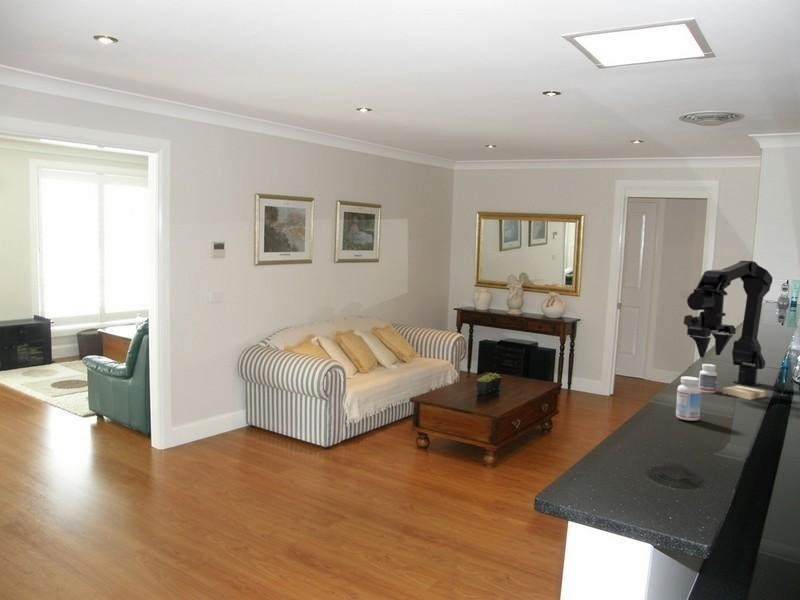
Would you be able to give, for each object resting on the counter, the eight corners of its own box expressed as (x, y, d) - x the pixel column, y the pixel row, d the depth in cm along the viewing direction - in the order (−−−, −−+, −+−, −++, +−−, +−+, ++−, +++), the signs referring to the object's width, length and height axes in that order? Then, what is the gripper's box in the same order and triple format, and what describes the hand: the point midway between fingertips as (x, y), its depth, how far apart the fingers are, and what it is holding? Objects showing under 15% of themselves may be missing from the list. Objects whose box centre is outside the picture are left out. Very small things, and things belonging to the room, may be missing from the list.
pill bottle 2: (717, 393, 208) (719, 366, 207) (700, 392, 209) (702, 365, 208) (713, 390, 213) (715, 364, 212) (696, 389, 214) (698, 362, 213)
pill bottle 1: (698, 416, 177) (701, 377, 176) (700, 422, 171) (703, 381, 171) (674, 414, 179) (677, 374, 178) (676, 419, 173) (679, 378, 172)
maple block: (737, 392, 213) (738, 385, 212) (765, 398, 205) (765, 391, 205) (722, 395, 208) (723, 387, 208) (749, 401, 200) (750, 393, 200)
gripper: (706, 305, 220) (703, 350, 222) (673, 307, 210) (670, 354, 211) (738, 309, 211) (734, 355, 212) (705, 311, 201) (702, 360, 202)
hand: (709, 356), depth 210 cm, fingers open, 9 cm apart
